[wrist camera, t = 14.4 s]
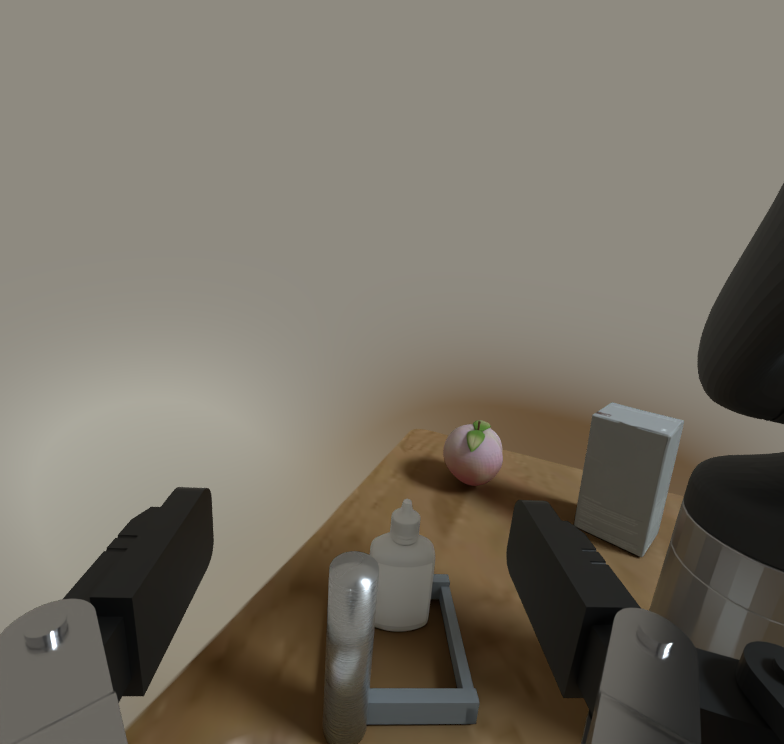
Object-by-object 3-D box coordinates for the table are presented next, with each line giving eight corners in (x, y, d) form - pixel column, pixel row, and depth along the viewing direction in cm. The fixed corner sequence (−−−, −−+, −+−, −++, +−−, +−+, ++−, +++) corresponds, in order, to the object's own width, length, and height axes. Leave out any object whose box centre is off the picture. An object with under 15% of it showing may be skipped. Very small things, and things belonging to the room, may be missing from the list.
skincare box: (657, 537, 53) (691, 419, 48) (639, 563, 48) (676, 435, 44) (588, 506, 59) (613, 398, 54) (566, 526, 54) (592, 409, 49)
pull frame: (445, 591, 41) (461, 472, 38) (481, 747, 29) (510, 590, 25) (335, 589, 41) (341, 468, 37) (320, 749, 28) (327, 587, 24)
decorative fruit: (443, 464, 67) (450, 405, 64) (496, 473, 65) (506, 413, 62) (435, 496, 58) (444, 428, 55) (497, 508, 56) (508, 439, 54)
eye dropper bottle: (415, 649, 36) (429, 527, 32) (357, 621, 38) (365, 503, 34) (433, 612, 39) (448, 499, 36) (380, 588, 42) (389, 479, 38)
